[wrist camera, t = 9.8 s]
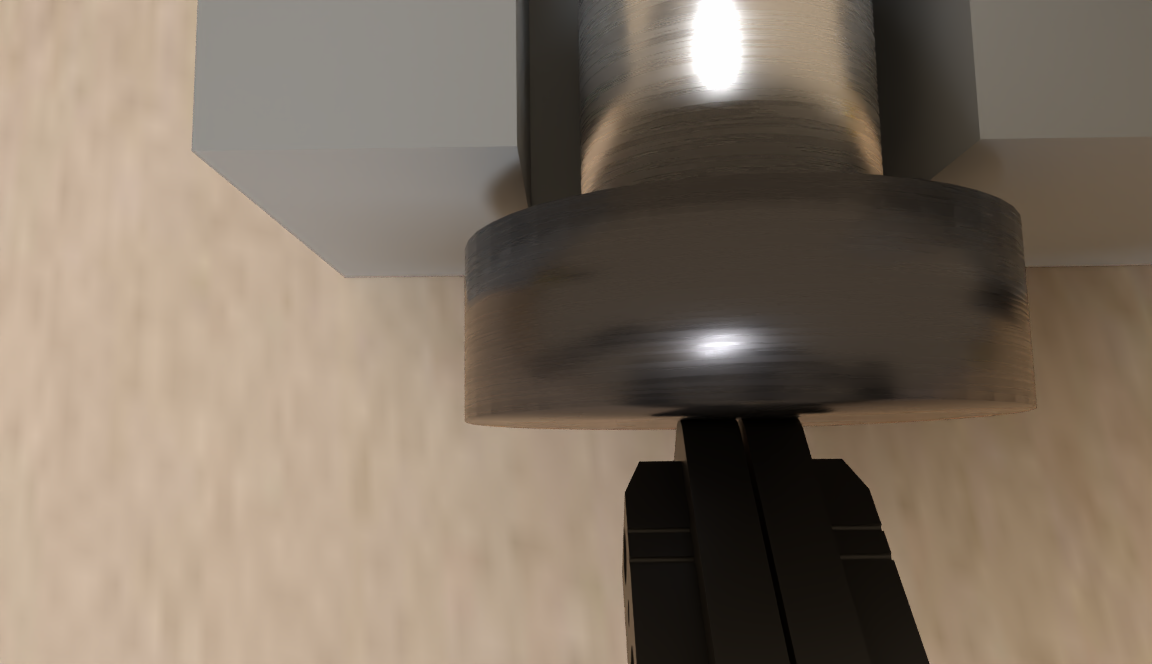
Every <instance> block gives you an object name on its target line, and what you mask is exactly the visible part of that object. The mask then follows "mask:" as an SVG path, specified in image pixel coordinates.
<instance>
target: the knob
mask: <svg viewBox="0 0 1152 664" xmlns="http://www.w3.org/2000/svg"><path fill="white" fill-rule="evenodd" d="M578 35H579V92H580V150H581V194H580V195H575V196H570V197H566V198H562V199H558V200H554V201H550V202H546V203H543V204H539V205H535V206H532V207H529V208H526V209H523V210H520V211H517V212H514V213H511V214H509V215H507V216H505V217H502V218H500V219H498V220H496V221H493V222H491V223H489V224H488V225H486V226H485V227H483V228H482V229H480V230H478V231H477V232H476V233H475V234H474V235H473V236H472V237H471V238H470V239H469V240H468V242H467V244H466V247H465V422H466V423H470V424H475V425H482V426H494V427H510V428H535V429H590V430H656V429H677V423H678V421H679V420H729V419H736V420H737V421H738V420H740V419H791V418H798V419H799V421H800V422H801V424H802V426H830V425H854V424H876V423H896V422H914V421H931V420H946V419H960V418H972V417H984V416H994V415H1003V414H1011V413H1018V412H1025V411H1029V410H1033V409H1036V408H1037V404H1036V392H1035V379H1034V367H1033V355H1032V343H1031V331H1030V319H1029V306H1028V294H1027V282H1026V270H1025V258H1024V245H1023V233H1022V222H1021V215H1020V214H1019V212H1018V211H1017V210H1016V209H1015V208H1014V206H1012V205H1011V204H1009V203H1007V202H1005V201H1004V200H1002V199H1000V198H998V197H996V196H993V195H990V194H987V193H985V192H982V191H979V190H975V189H971V188H967V187H963V186H959V185H955V184H950V183H943V182H937V181H931V180H924V179H918V178H908V177H897V176H887V175H883V166H882V150H881V134H880V118H879V102H878V85H877V69H876V53H875V37H874V21H873V5H872V0H578Z"/></svg>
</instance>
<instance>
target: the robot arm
mask: <svg viewBox="0 0 1152 664" xmlns="http://www.w3.org/2000/svg"><path fill="white" fill-rule="evenodd" d="M622 575H623V591H624V607H625V624H626V637H627V657H628V664H929V661H928V658H927V655H926V652H925V649H924V646H923V644H922V641H921V638H920V635H919V632H918V629H917V626H916V623H915V620H914V617H913V615H912V612H911V609H910V606H909V603H908V600H907V597H906V594H905V591H904V588H903V586H902V583H901V580H900V577H899V574H898V571H897V568H896V565H895V562H894V560H892V559H891V551H890V548H889V545H888V542H887V539H886V536H885V533H884V531H882V530H881V522H880V519H879V516H878V513H877V510H876V507H875V504H874V501H873V499H872V496H871V493H870V490H869V488H868V487H867V486H866V485H865V484H864V483H863V482H862V481H861V479H860V478H859V477H858V476H857V475H856V474H855V473H854V472H853V470H852V469H851V468H850V467H849V466H848V465H847V464H846V463H845V462H844V460H843V459H812V458H811V455H810V451H809V448H808V444H807V441H806V437H805V434H804V430H803V427H802V424H801V422H800V421H799V419H798V418H791V419H740V420H738V421H737V420H736V419H729V420H679V421H678V423H677V430H676V442H675V456H674V461H652V462H639V464H638V466H637V468H636V470H635V472H634V474H633V476H632V479H631V481H630V483H629V485H628V487H627V489H626V491H625V504H624V535H623V565H622Z"/></svg>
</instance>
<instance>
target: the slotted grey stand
mask: <svg viewBox="0 0 1152 664" xmlns="http://www.w3.org/2000/svg"><path fill="white" fill-rule="evenodd" d="M872 5H873V21H874V37H875V53H876V69H877V85H878V102H879V118H880V134H881V150H882V166H883V175H887V176H897V177H908V178H918V179H924V180H931V181H937V182H943V183H950V184H955V185H959V186H963V187H967V188H971V189H975V190H979V191H982V192H985V193H987V194H990V195H993V196H996V197H998V198H1000V199H1002V200H1004V201H1005V202H1007V203H1009V204H1011V205H1012V206H1014V208H1015V209H1016V210H1017V211H1018V212H1019V214H1020V215H1021V222H1022V233H1023V245H1024V258H1025V267H1054V266H1118V265H1152V0H872ZM192 152H193V153H195V154H196V155H197V156H198V157H199V158H201V159H202V160H203V161H204V162H206V163H207V164H208V165H209V166H210V167H212V168H213V169H214V170H215V171H216V172H218V173H219V174H220V175H221V176H222V177H224V178H225V179H226V180H227V181H229V182H230V183H231V184H232V185H233V186H235V187H236V188H237V189H238V190H239V191H241V192H242V193H243V194H244V195H245V196H247V197H248V198H249V199H250V200H252V201H253V202H254V203H255V204H256V205H258V206H259V207H260V208H261V209H262V210H264V211H265V212H266V213H267V214H268V215H270V216H271V217H272V218H273V219H275V220H276V221H277V222H278V223H279V224H281V225H282V226H283V227H284V228H285V229H287V230H288V231H289V232H290V233H291V234H293V235H294V236H295V237H296V238H298V239H299V240H300V241H301V242H302V243H304V244H305V245H306V246H307V247H308V248H310V249H311V250H312V251H313V252H314V253H316V254H317V255H318V256H319V257H321V258H322V259H323V260H324V261H325V262H327V263H328V264H329V265H330V266H331V267H333V268H334V269H335V270H336V271H337V272H339V273H340V274H341V275H342V276H344V277H345V278H346V277H411V276H465V247H466V244H467V242H468V240H469V239H470V238H471V237H472V236H473V235H474V234H475V233H476V232H477V231H478V230H480V229H482V228H483V227H485V226H486V225H488V224H489V223H491V222H493V221H496V220H498V219H500V218H502V217H505V216H507V215H509V214H511V213H514V212H517V211H520V210H523V209H526V208H529V207H532V206H535V205H539V204H543V203H546V202H550V201H554V200H558V199H562V198H566V197H570V196H575V195H580V194H581V150H580V92H579V35H578V0H198V7H197V32H196V57H195V82H194V106H193V131H192Z"/></svg>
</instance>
